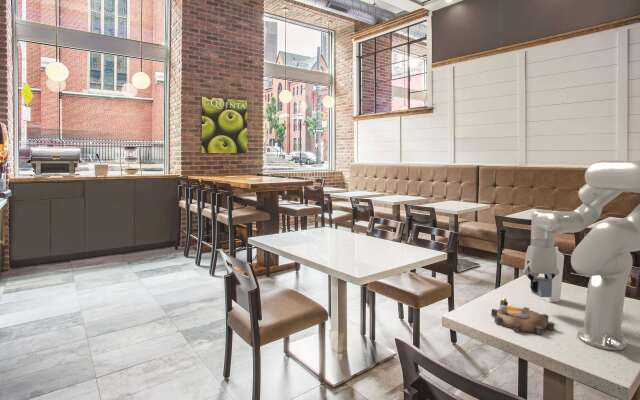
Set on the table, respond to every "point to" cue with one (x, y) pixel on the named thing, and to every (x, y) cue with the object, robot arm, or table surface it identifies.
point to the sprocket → (522, 319)
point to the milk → (556, 280)
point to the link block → (543, 287)
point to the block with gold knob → (504, 302)
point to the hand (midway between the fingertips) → (540, 290)
